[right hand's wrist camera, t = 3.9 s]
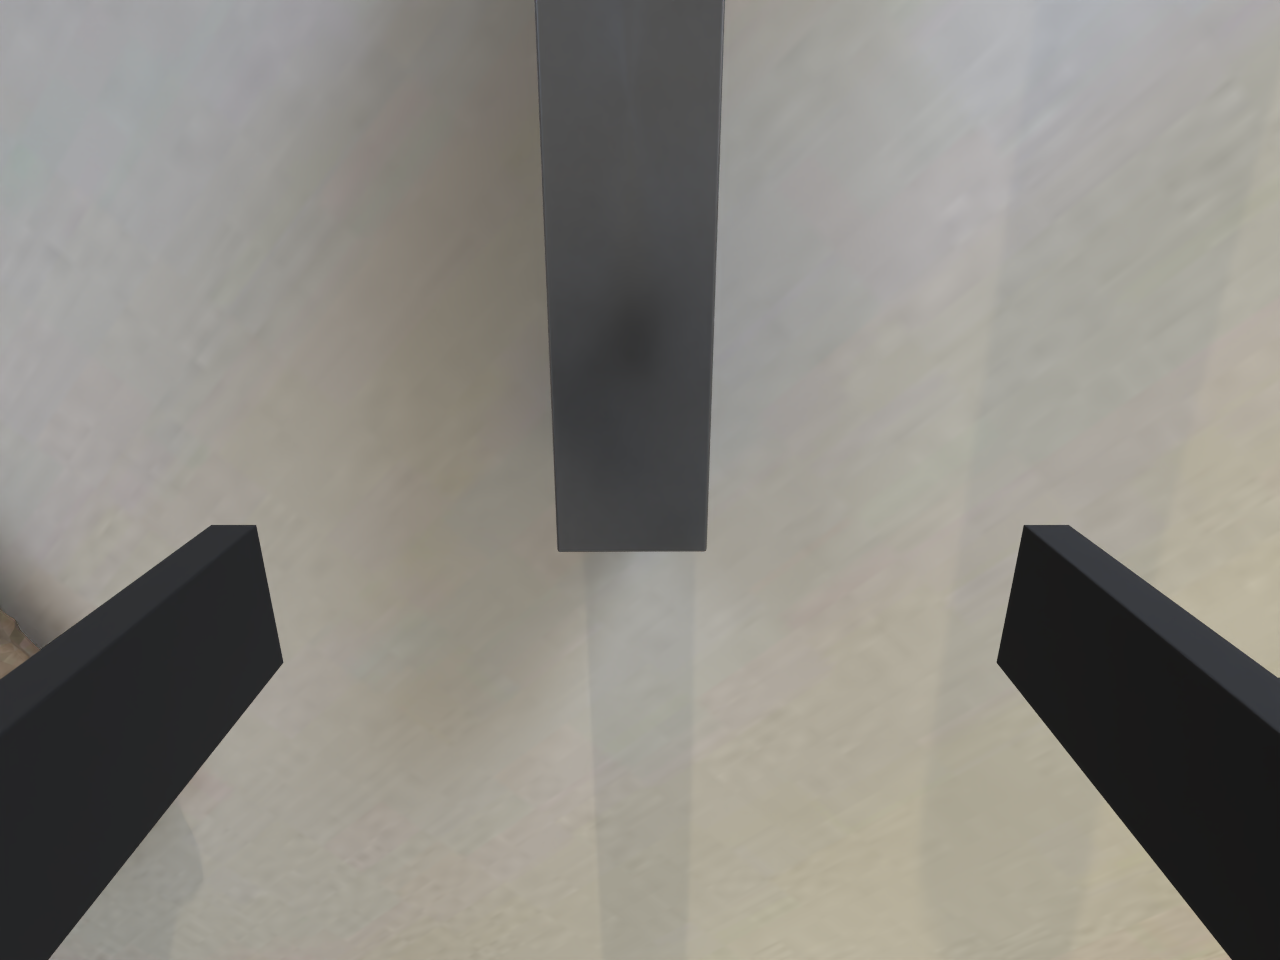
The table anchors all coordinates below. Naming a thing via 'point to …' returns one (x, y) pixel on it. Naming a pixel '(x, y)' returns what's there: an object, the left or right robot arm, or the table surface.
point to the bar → (630, 264)
